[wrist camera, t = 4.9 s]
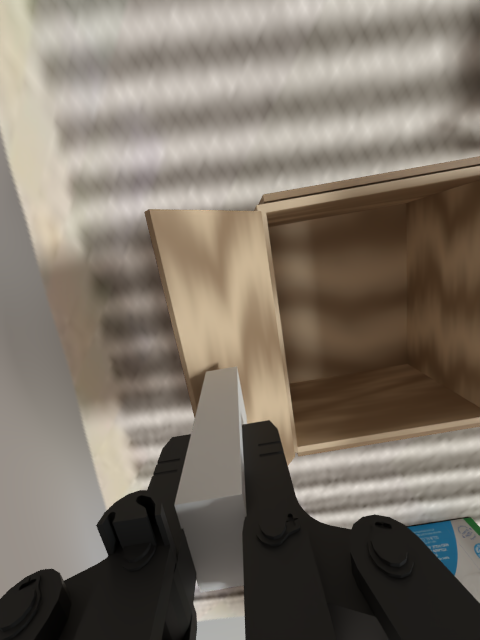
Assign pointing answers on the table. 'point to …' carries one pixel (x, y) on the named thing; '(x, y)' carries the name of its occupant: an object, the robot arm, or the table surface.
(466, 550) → the milk carton
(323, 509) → the table surface
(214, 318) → the flap
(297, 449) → the light wood open box
